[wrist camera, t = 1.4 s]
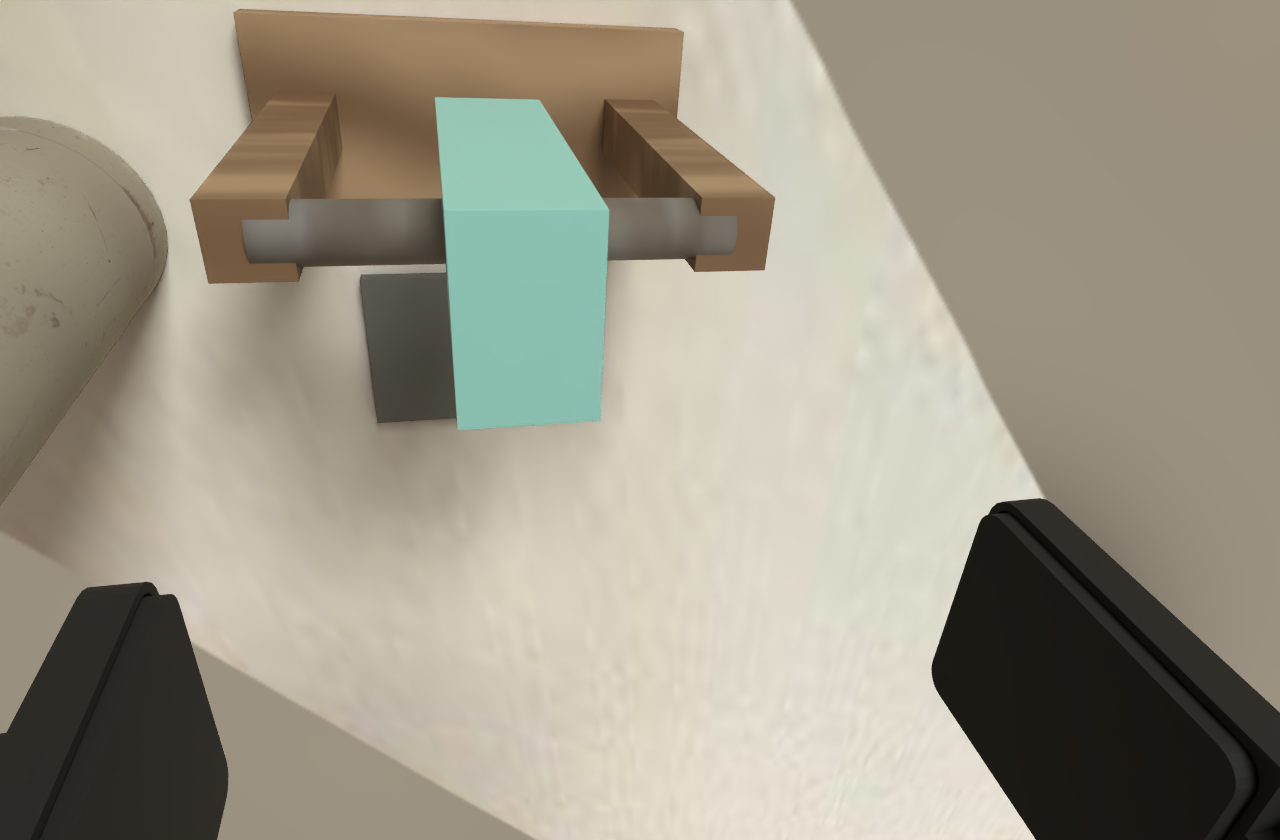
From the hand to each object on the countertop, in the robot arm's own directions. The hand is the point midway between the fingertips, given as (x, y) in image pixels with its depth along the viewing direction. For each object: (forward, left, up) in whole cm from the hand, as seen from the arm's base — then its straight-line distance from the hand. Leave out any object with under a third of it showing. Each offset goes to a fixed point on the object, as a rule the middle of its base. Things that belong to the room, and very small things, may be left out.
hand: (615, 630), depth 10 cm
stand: (0, 0, -28) cm, 28 cm away
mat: (+10, 0, -28) cm, 29 cm away
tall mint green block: (0, 0, -19) cm, 19 cm away
